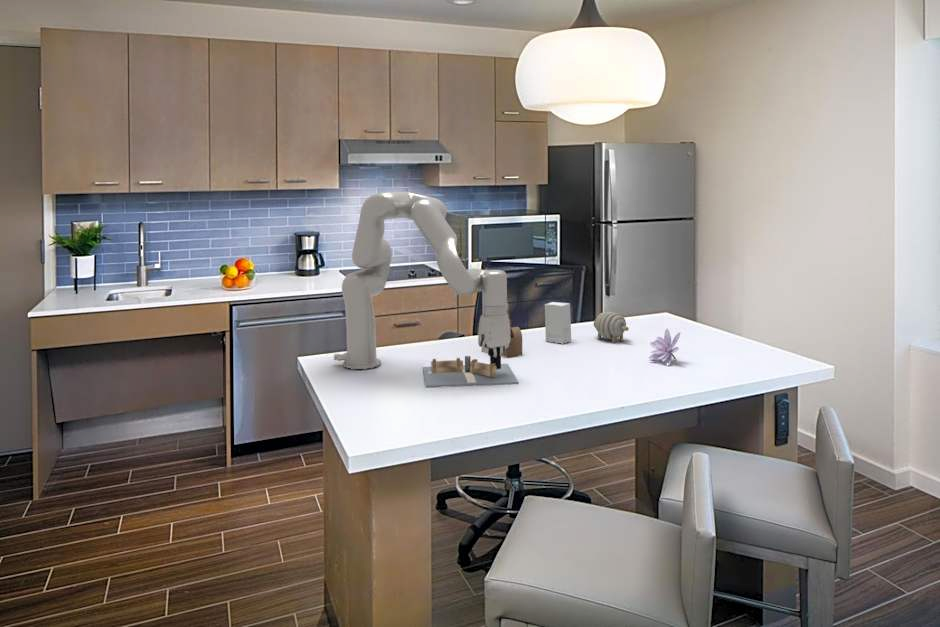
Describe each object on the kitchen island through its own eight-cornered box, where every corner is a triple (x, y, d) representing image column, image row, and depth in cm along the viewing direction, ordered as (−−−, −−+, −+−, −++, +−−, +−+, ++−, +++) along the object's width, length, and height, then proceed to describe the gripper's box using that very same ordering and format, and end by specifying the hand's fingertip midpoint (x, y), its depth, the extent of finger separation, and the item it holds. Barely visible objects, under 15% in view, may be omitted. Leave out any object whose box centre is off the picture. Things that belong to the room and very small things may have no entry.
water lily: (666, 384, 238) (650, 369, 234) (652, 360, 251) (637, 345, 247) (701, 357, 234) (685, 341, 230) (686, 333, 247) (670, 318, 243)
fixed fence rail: (462, 370, 229) (462, 357, 228) (463, 371, 228) (462, 358, 227) (431, 371, 228) (431, 358, 227) (431, 372, 227) (431, 359, 226)
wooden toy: (523, 355, 251) (523, 284, 246) (506, 357, 248) (506, 286, 244) (504, 346, 265) (503, 279, 260) (487, 348, 262) (487, 280, 258)
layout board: (425, 387, 214) (425, 385, 214) (423, 368, 235) (422, 366, 235) (518, 383, 216) (518, 381, 216) (507, 365, 238) (507, 363, 238)
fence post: (465, 374, 228) (465, 357, 227) (464, 372, 230) (464, 356, 229) (471, 374, 228) (470, 357, 227) (470, 372, 230) (470, 355, 229)
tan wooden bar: (470, 371, 227) (469, 359, 226) (473, 371, 228) (472, 358, 227) (493, 377, 220) (493, 364, 220) (496, 376, 221) (496, 363, 221)
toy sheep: (602, 335, 282) (603, 307, 280) (637, 342, 269) (638, 313, 267) (584, 339, 276) (585, 310, 274) (619, 346, 263) (620, 316, 261)
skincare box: (571, 342, 271) (572, 303, 268) (562, 344, 267) (562, 305, 264) (553, 338, 277) (553, 300, 274) (544, 341, 272) (544, 302, 269)
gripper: (503, 306, 228) (504, 362, 231) (468, 312, 218) (469, 370, 222) (520, 308, 222) (521, 366, 226) (485, 315, 213) (486, 375, 216)
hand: (495, 368), depth 224 cm, fingers closed
